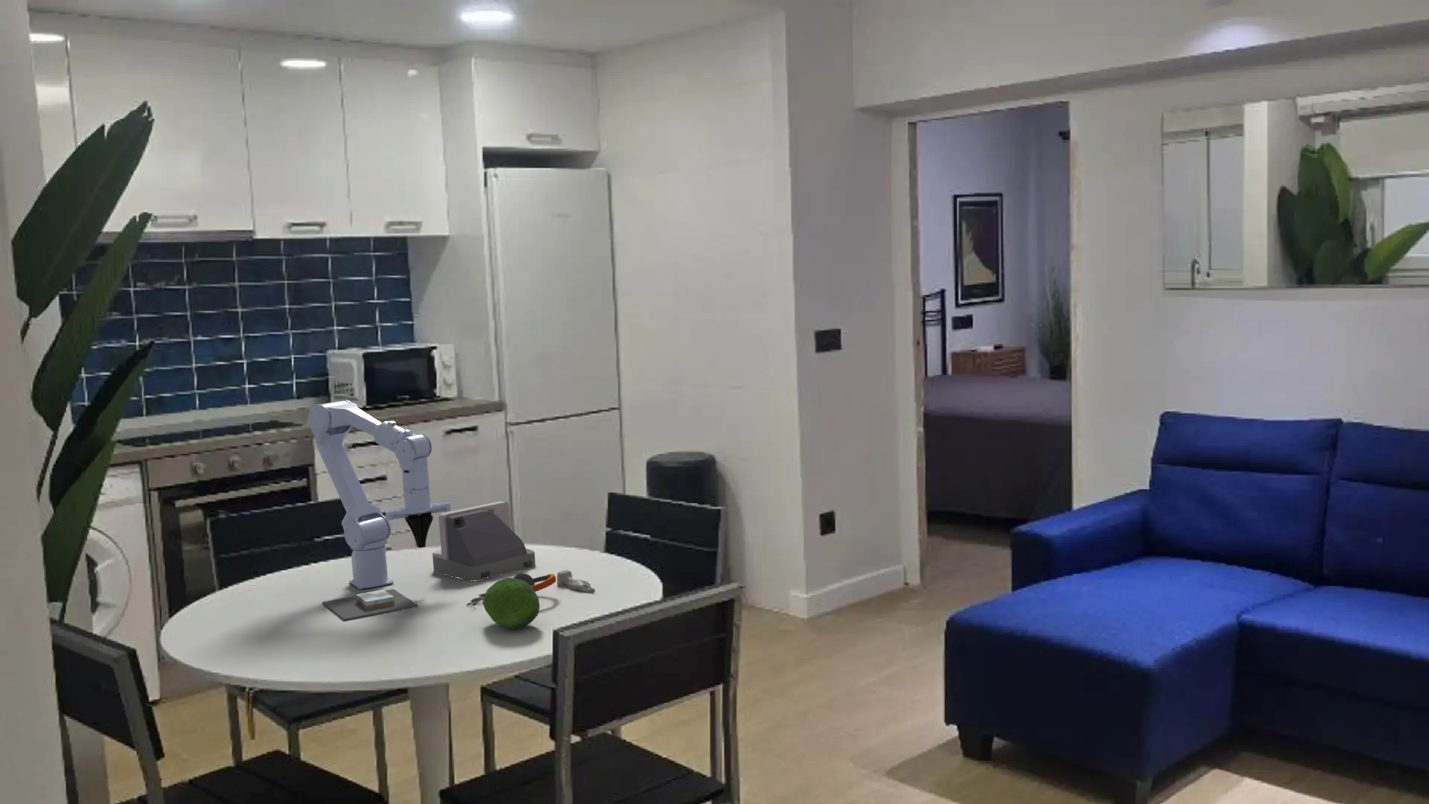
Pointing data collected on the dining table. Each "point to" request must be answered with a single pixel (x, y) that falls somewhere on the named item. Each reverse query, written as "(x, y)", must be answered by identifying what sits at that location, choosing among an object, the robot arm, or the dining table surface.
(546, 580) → the headphones
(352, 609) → the mat
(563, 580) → the figurine
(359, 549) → the robot arm
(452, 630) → the dining table surface
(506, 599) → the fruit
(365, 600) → the tile
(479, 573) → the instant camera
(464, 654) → the dining table surface
